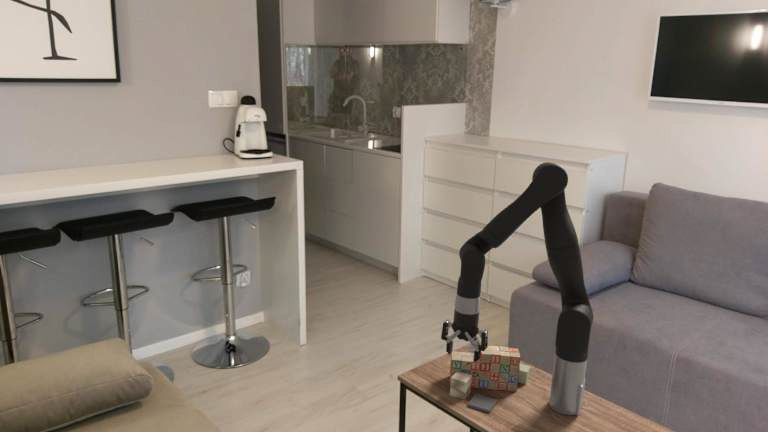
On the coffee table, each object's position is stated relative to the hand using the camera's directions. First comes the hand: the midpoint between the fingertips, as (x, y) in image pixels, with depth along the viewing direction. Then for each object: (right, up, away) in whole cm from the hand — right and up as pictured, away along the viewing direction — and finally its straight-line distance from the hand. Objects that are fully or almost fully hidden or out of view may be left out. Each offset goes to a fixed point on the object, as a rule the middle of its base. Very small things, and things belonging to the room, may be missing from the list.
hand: (462, 357), depth 181 cm
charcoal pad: (+6, -14, -3) cm, 15 cm away
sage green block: (+21, -11, +13) cm, 27 cm away
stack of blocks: (+8, -11, +9) cm, 16 cm away
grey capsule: (+6, -8, +21) cm, 24 cm away
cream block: (0, -12, +3) cm, 13 cm away
